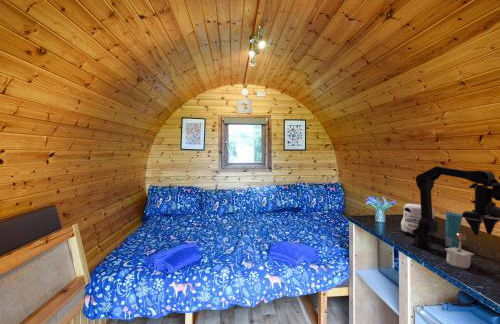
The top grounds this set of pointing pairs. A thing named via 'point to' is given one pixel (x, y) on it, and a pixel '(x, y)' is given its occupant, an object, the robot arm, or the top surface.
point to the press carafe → (458, 257)
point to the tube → (452, 228)
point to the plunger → (460, 240)
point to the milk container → (411, 218)
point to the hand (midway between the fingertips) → (483, 234)
